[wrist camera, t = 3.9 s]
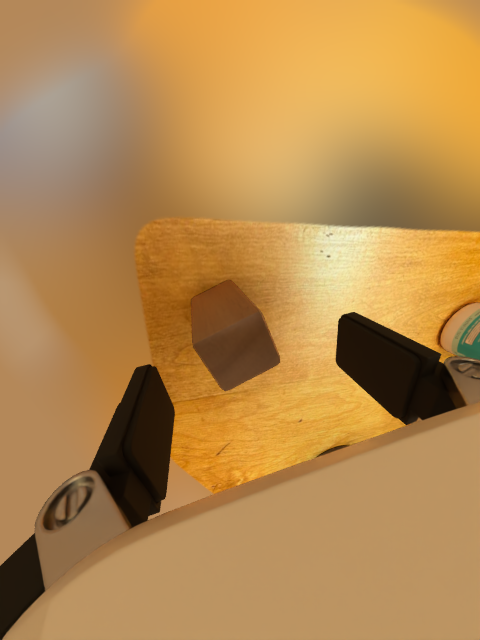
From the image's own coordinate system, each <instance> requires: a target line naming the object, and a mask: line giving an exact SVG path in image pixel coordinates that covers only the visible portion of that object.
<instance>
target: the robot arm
mask: <svg viewBox="0 0 480 640" xmlns="http://www.w3.org/2000/svg"><path fill="white" fill-rule="evenodd" d="M440 356H441V354H440V353H438V352H436V351H434V350H432V349H430V348H428V347H426V346H424V345H421V344H419V343H417V342H415V341H413V340H411V339H409V338H407V337H405V336H403V335H401V334H399V333H397V332H395V331H393V330H391V329H388V328H386V327H384V326H382V325H380V324H378V323H376V322H374V321H372V320H370V319H368V318H366V317H364V316H362V315H360V314H358V313H355V312H352V313H348V314H344V315H342V316H341V318H340V319H339V321H338V335H337V349H336V363H337V365H338V366H339V367H340V368H341V369H342V370H343V371H344V372H345V373H346V374H347V375H349V376H350V377H351V378H352V379H353V380H354V381H355V382H356V383H357V384H358V385H359V386H361V387H362V388H363V389H364V390H365V391H366V392H367V393H368V394H369V395H370V396H372V397H373V398H374V399H375V400H376V401H377V402H378V403H379V404H380V405H381V406H382V407H384V408H385V409H386V410H387V411H388V412H389V413H390V414H391V415H392V416H394V417H395V418H399V419H400V420H401V421H402V422H403V423H404V424H405V425H408V424H411V423H414V422H416V421H417V420H418V417H419V418H420V419H421V420H422V421H419V422H416V423H414V424H411V425H408V426H405V427H402V428H399V429H396V430H393V431H390V432H388V433H385V434H382V435H379V436H376V437H373V438H370V439H368V440H365V441H362V442H359V443H356V444H353V445H351V446H348V447H345V448H342V449H339V450H336V451H333V452H331V453H328V454H325V455H322V456H319V457H317V458H314V459H311V460H308V461H305V462H302V463H300V464H297V465H294V466H291V467H288V468H286V469H283V470H280V471H277V472H275V473H272V474H269V475H266V476H263V477H261V478H258V479H255V480H252V481H250V482H247V483H244V484H241V485H238V486H236V487H233V488H230V489H227V490H225V491H222V492H219V493H216V494H214V495H211V496H209V497H206V498H203V499H201V500H198V501H195V502H193V503H190V504H187V505H185V506H182V507H180V508H177V509H174V510H172V511H169V512H166V513H164V514H162V515H159V516H157V517H155V518H153V519H150V520H148V516H150V515H153V514H156V513H159V512H160V506H161V500H164V499H165V497H166V492H167V491H166V490H167V482H168V473H169V463H170V454H171V444H172V435H173V425H174V416H175V411H174V406H173V404H172V402H171V399H170V397H169V395H168V393H167V390H166V388H165V386H164V384H163V381H162V379H161V377H160V375H159V372H158V370H157V368H156V367H155V366H153V367H152V366H151V365H150V364H149V365H145V366H140V367H137V368H136V369H135V371H134V373H133V375H132V378H131V380H130V382H129V385H128V387H127V389H126V391H125V394H124V396H123V398H122V401H121V403H119V405H118V406H117V409H116V411H115V413H114V415H113V418H112V420H111V422H110V424H109V427H108V429H107V431H106V434H105V436H104V438H103V440H102V443H101V445H100V447H99V449H98V451H97V454H96V456H95V458H94V460H93V463H92V465H91V467H90V470H87V471H83V472H80V473H78V474H76V475H74V476H72V477H71V478H70V479H68V480H67V481H65V482H64V483H63V484H62V485H61V486H60V487H58V488H57V489H56V490H55V491H54V492H53V494H52V495H51V496H50V497H49V498H48V500H47V501H46V502H45V504H44V506H43V507H42V509H41V510H40V512H39V514H38V517H37V519H36V522H35V533H34V534H33V535H32V536H31V537H30V538H29V539H28V540H27V541H26V542H25V543H24V544H23V545H22V546H21V547H20V548H18V549H17V550H16V551H15V552H14V553H13V554H12V555H11V556H10V557H9V558H8V559H7V560H6V561H5V562H4V563H3V564H2V565H1V566H0V640H480V360H478V359H475V358H469V357H462V356H454V357H449V358H447V359H446V360H445V361H444V364H443V363H441V362H439V359H440Z"/></svg>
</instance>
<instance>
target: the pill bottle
mask: <svg viewBox="0 0 480 640" xmlns="http://www.w3.org/2000/svg"><path fill="white" fill-rule="evenodd" d="M440 342H441V345H442V347H443V348H444V349H445V350H446V351H448V352H450V353H453V354H455V355H457V356H462V357H469V358H475V359H478V360H480V303H473V304H469V305H467V306H465V307H463V308H461V309H460V310H459V311H457V312H456V313H455V314H454V315H453V316H452V317H451V318H450V319H449V321H448V322H447V323H446V325H445V327H444V329H443V331H442V334H441V338H440Z"/></svg>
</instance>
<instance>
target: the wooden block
mask: <svg viewBox="0 0 480 640" xmlns="http://www.w3.org/2000/svg"><path fill="white" fill-rule="evenodd" d="M191 316H192V343H193V348H194V349H195V351H196V352H197V354H198V355H199V357H200V358H201V360H202V361H203V363H204V364H205V366H206V367H207V368H208V370H209V371H210V373H211V374H212V376H213V377H214V379H215V380H216V382H217V383H218V385H219V386H220V387H221V388H222V389H223V390H224V391H228V390H230V389H232V388H234V387H236V386H238V385H240V384H242V383H244V382H246V381H248V380H250V379H251V378H253V377H255V376H257V375H259V374H261V373H263V372H265V371H267V370H269V369H271V368H273V367H274V366H276V365H278V364H279V363H280V356H279V353H278V351H277V348H276V346H275V343H274V341H273V339H272V336H271V334H270V331H269V329H268V326H267V324H266V322H265V319H264V317H263V314H262V312H261V311H260V310H259V309H258V308H257V307H256V306H255V305H254V304H253V303H252V302H251V300H250V299H249V298H248V297H247V296H246V295H245V294H244V293H243V292H242V291H241V290H240V289H239V288H238V287H237V286H236V285H235V284H234V283H233V282H232V281H231V280H227V281H225V282H223V283H221V284H219V285H217V286H215V287H213V288H211V289H209V290H207V291H205V292H203V293H201V294H199V295H197V296H195V297H193V298H192V299H191Z"/></svg>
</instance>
